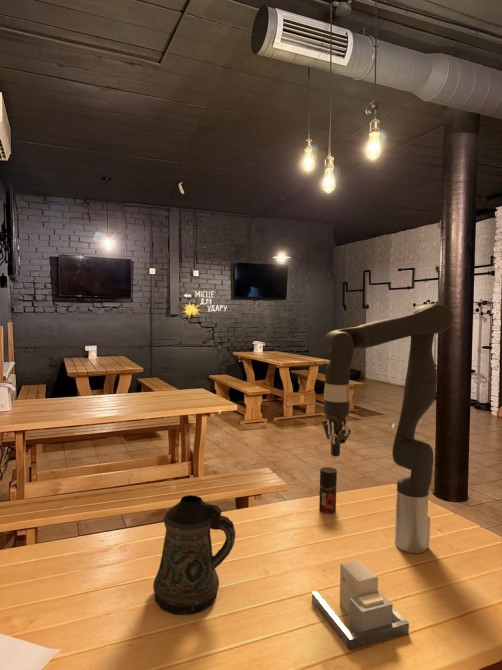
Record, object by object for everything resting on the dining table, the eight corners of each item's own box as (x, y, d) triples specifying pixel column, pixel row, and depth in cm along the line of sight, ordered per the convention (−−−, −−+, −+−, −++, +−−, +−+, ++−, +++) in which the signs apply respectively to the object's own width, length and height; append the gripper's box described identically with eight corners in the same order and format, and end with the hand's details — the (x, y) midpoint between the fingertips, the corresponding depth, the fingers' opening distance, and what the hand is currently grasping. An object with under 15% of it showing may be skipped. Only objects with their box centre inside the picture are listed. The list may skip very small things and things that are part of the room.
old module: (378, 619, 108) (379, 588, 107) (391, 634, 103) (392, 601, 102) (348, 627, 105) (349, 595, 104) (361, 642, 100) (362, 609, 100)
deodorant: (336, 508, 167) (338, 468, 166) (334, 515, 162) (335, 473, 161) (320, 506, 169) (321, 466, 168) (317, 512, 164) (318, 471, 163)
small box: (377, 620, 108) (379, 576, 107) (357, 625, 106) (358, 581, 105) (358, 599, 115) (359, 559, 114) (338, 604, 113) (340, 563, 112)
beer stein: (147, 583, 120) (147, 490, 119) (217, 568, 128) (218, 480, 126) (161, 624, 105) (161, 518, 104) (239, 603, 113) (241, 504, 111)
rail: (364, 589, 119) (364, 580, 119) (408, 633, 103) (408, 623, 103) (311, 601, 114) (311, 592, 114) (349, 650, 98) (350, 639, 98)
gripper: (360, 402, 131) (358, 461, 132) (336, 393, 143) (334, 448, 144) (337, 403, 128) (335, 464, 129) (314, 394, 141) (313, 450, 142)
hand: (335, 455), depth 137 cm, fingers closed
